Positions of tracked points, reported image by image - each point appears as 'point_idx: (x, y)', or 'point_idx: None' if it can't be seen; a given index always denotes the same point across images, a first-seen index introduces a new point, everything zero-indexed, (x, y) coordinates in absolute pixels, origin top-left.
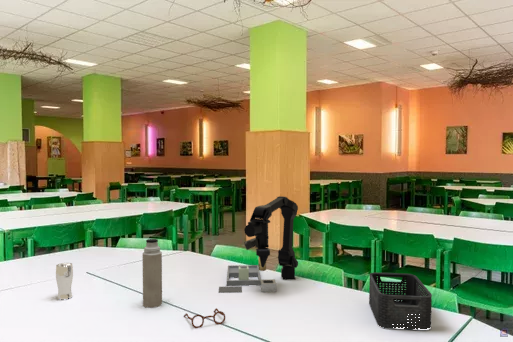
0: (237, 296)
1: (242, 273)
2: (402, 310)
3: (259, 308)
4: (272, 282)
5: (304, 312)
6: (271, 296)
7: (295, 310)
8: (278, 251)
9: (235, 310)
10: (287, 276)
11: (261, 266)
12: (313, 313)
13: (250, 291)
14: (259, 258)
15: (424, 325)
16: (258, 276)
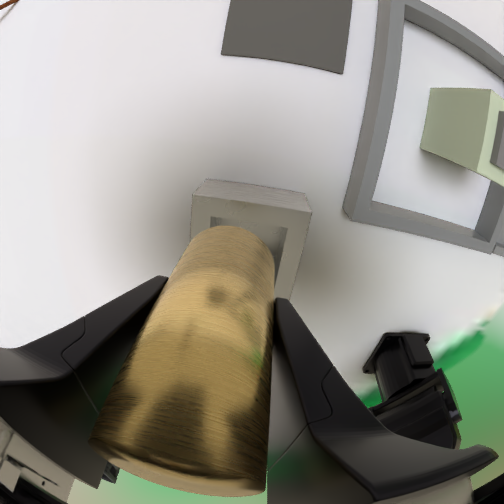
0: (150, 30)
1: (463, 114)
2: None
3: (15, 151)
4: (274, 279)
5: (20, 287)
6: (130, 222)
7: (23, 270)
8: (452, 442)
9: (10, 61)
10: (383, 357)
11: (154, 277)
12: (23, 304)
13: (231, 110)
14: (138, 346)
15: None
16: (434, 226)
